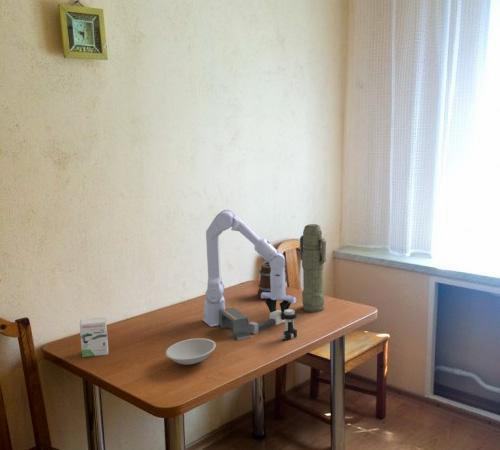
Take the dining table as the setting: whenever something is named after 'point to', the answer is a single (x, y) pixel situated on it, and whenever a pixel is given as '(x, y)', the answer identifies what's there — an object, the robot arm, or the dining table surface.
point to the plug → (266, 322)
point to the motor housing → (234, 323)
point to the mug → (266, 279)
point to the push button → (289, 324)
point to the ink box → (94, 336)
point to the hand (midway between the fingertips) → (278, 318)
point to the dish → (190, 350)
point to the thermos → (313, 267)
